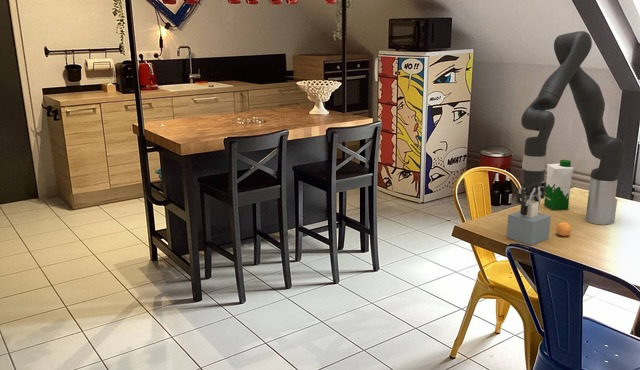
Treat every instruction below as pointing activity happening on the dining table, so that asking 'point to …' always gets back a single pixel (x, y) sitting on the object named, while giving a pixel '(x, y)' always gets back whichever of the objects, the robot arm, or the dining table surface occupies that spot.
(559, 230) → the ball
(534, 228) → the tissue box
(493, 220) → the dining table surface
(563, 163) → the milk carton
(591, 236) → the dining table surface
